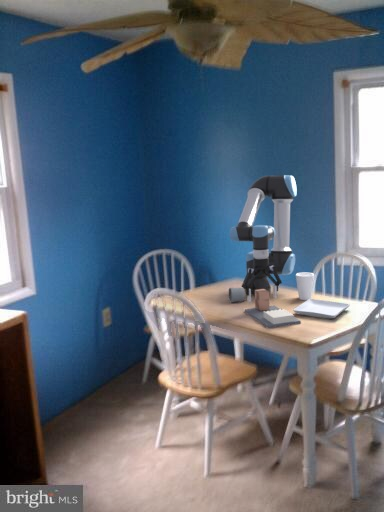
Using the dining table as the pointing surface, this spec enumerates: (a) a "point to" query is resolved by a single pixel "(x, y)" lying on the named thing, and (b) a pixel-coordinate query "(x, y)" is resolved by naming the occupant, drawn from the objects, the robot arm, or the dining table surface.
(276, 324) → the board
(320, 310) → the salad plate
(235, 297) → the grey cylinder
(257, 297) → the reddish brown block
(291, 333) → the dining table surface
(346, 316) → the dining table surface
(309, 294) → the foam cup
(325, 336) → the dining table surface
